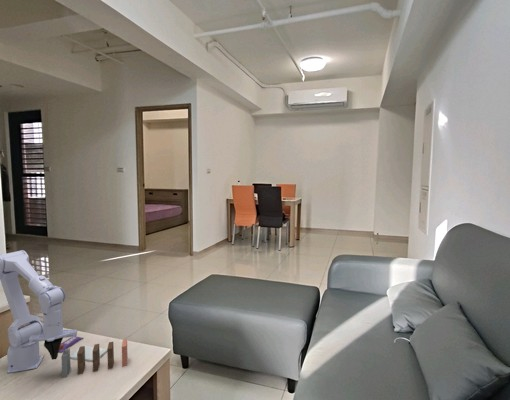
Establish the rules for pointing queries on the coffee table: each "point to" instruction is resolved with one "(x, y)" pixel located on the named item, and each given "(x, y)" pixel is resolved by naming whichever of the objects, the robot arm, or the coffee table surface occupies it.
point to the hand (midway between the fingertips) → (54, 358)
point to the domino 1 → (66, 362)
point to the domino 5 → (124, 353)
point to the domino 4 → (110, 355)
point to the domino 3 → (96, 357)
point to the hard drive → (88, 353)
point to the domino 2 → (81, 360)
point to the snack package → (69, 343)
